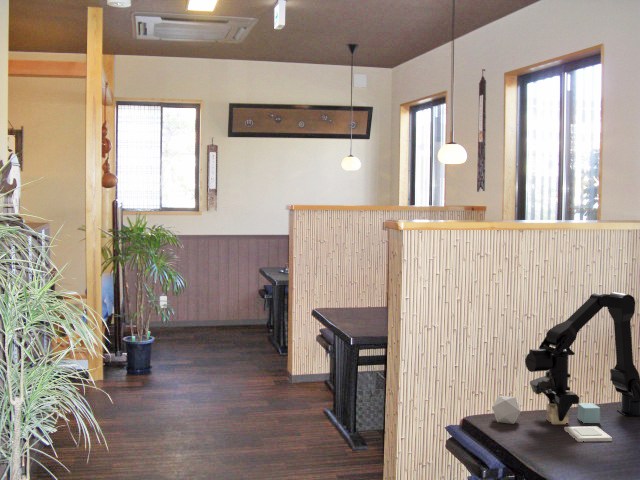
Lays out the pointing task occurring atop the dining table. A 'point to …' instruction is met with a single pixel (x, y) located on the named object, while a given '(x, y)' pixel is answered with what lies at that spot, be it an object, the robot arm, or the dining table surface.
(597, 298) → the robot arm
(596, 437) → the plate
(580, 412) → the teal brick
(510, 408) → the die
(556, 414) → the maple brick
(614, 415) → the dining table surface
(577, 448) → the dining table surface
